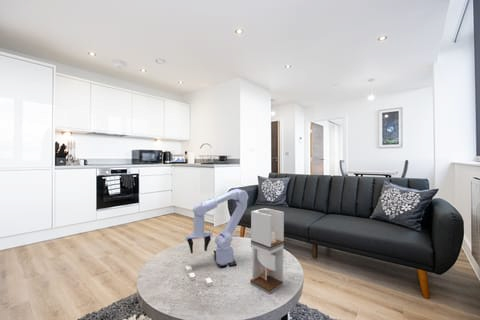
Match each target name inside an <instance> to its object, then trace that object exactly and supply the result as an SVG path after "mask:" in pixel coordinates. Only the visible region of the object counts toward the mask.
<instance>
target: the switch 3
mask: <svg viewBox="0 0 480 320" xmlns="http://www.w3.org/2000/svg"><path fill="white" fill-rule="evenodd" d="M204 283H205V285H206V286H207V288H208V287H213V285H214V282H213V280H212V278H211V277H206V278H205V280H204Z"/></svg>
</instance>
